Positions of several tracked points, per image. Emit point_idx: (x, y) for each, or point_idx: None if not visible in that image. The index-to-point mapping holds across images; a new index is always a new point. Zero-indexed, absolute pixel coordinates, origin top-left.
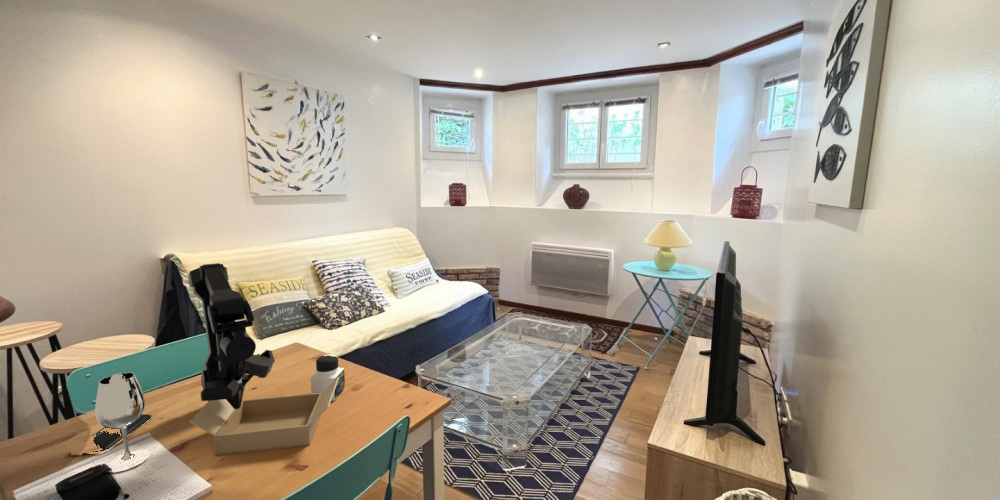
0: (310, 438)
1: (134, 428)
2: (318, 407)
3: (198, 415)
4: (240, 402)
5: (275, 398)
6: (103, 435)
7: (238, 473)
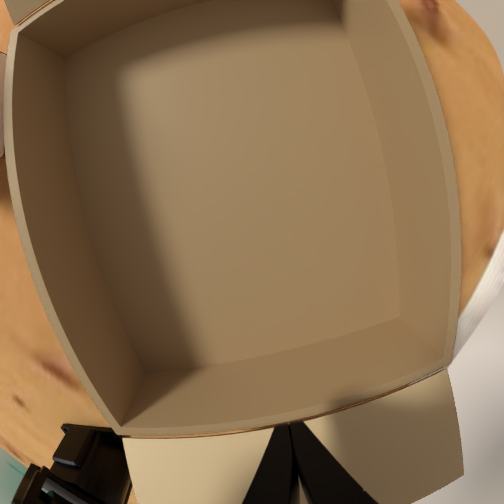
0: None
1: None
2: None
3: (416, 491)
4: (291, 452)
5: (43, 273)
6: None
7: (479, 177)
